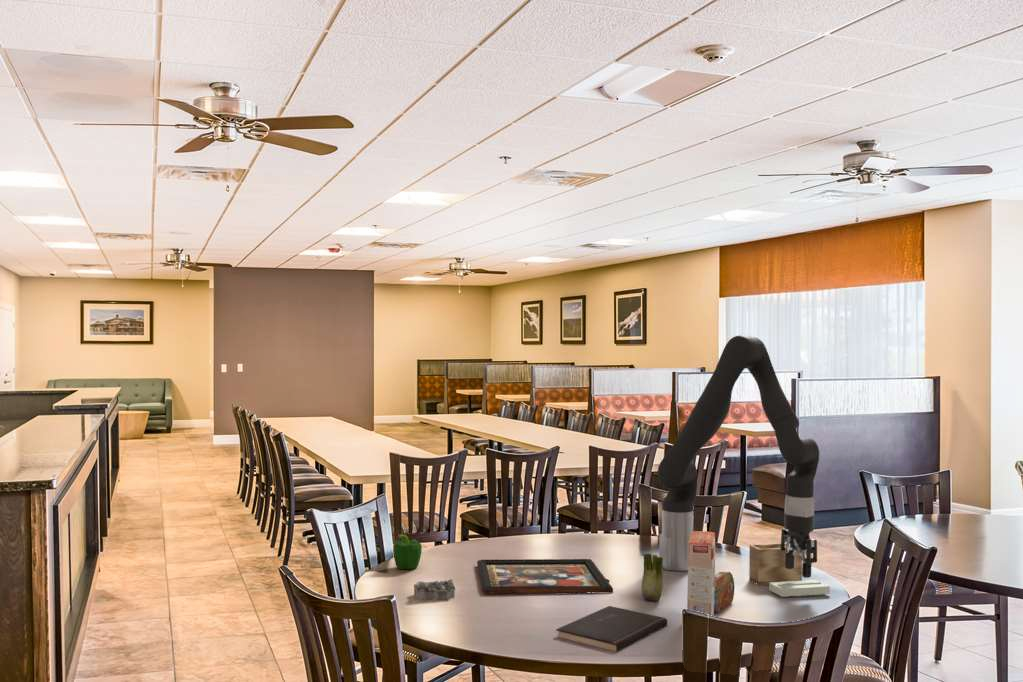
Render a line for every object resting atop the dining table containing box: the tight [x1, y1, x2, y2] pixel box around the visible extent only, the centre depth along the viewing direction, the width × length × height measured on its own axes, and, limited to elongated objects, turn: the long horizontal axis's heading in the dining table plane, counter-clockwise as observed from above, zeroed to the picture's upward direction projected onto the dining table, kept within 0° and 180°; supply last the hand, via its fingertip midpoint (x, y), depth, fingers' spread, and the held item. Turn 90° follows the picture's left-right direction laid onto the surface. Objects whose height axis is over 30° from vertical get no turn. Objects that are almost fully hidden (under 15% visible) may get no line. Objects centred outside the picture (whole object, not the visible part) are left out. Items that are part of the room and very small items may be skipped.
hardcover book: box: [555, 605, 668, 653], centre depth 204 cm, size 16×23×2 cm
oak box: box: [748, 542, 803, 586], centre depth 248 cm, size 13×6×10 cm, turn 102°
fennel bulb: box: [641, 553, 664, 602], centre depth 229 cm, size 6×5×12 cm
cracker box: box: [686, 530, 716, 616], centre depth 210 cm, size 14×6×21 cm, turn 164°
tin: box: [714, 571, 735, 613], centre depth 223 cm, size 15×3×8 cm, turn 146°
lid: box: [768, 579, 831, 598], centre depth 236 cm, size 14×7×3 cm, turn 103°
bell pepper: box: [392, 534, 423, 570], centre depth 260 cm, size 8×8×10 cm
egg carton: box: [413, 578, 457, 602], centre depth 231 cm, size 11×8×4 cm
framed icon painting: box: [476, 558, 614, 596], centre depth 250 cm, size 38×35×3 cm
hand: (797, 572), depth 236 cm, fingers open, 8 cm apart
